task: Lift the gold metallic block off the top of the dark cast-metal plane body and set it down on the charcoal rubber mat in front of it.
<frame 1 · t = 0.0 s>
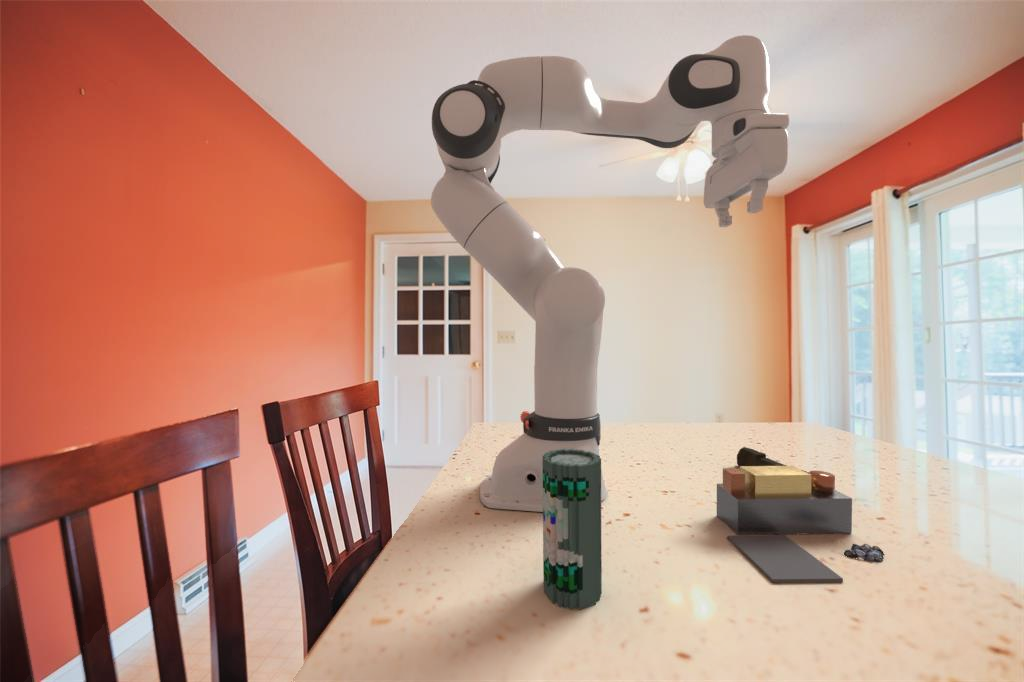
hand: (739, 219, 73), 48 cm above the table, tool pointing down, fingers open, 8 cm apart
can: (572, 592, 46), on the table
plane body: (780, 524, 61), on the table
hand tool: (775, 483, 78), on the table
mat: (779, 558, 52), on the table
gold metallic block: (774, 490, 61), point 5 cm above the table, touching plane body
blueberries: (862, 556, 54), on the table
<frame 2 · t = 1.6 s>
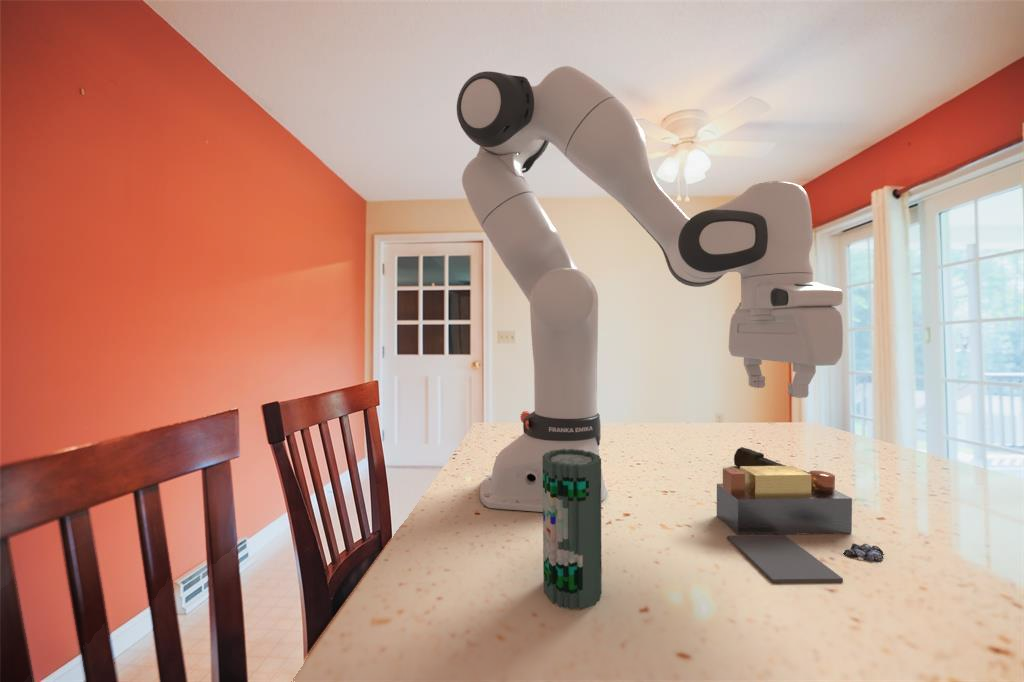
hand: (775, 391, 61), 20 cm above the table, tool pointing down, fingers open, 8 cm apart
nothing on the table moved.
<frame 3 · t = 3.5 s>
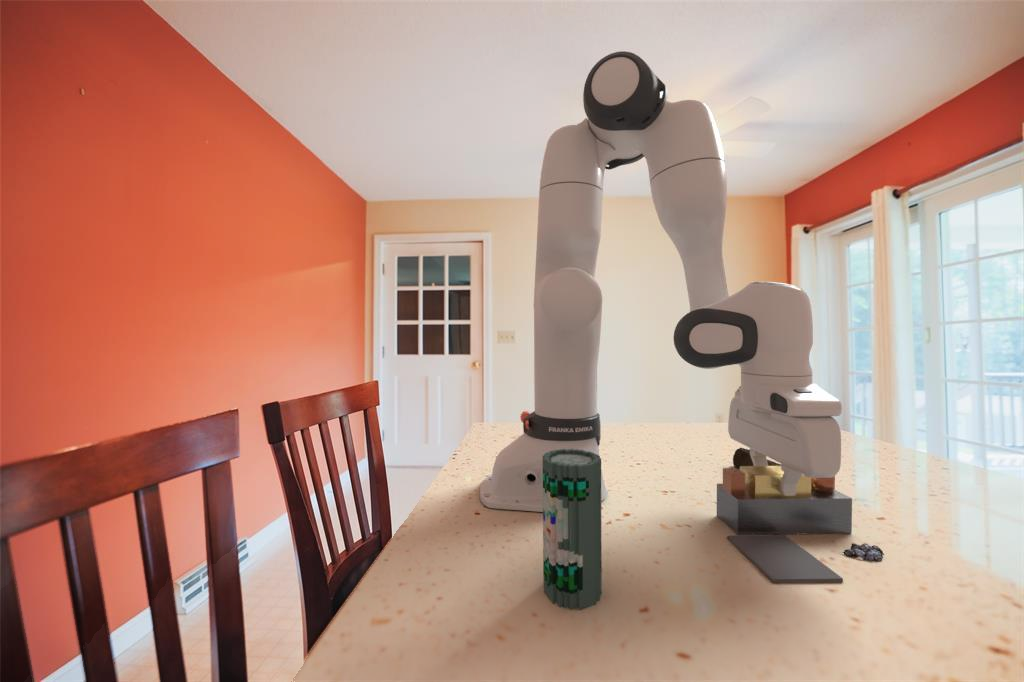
hand: (774, 486, 61), 6 cm above the table, tool pointing down, fingers closed on gold metallic block, 4 cm apart
gold metallic block: (774, 490, 61), point 5 cm above the table, touching gripper, plane body
everything else where it was.
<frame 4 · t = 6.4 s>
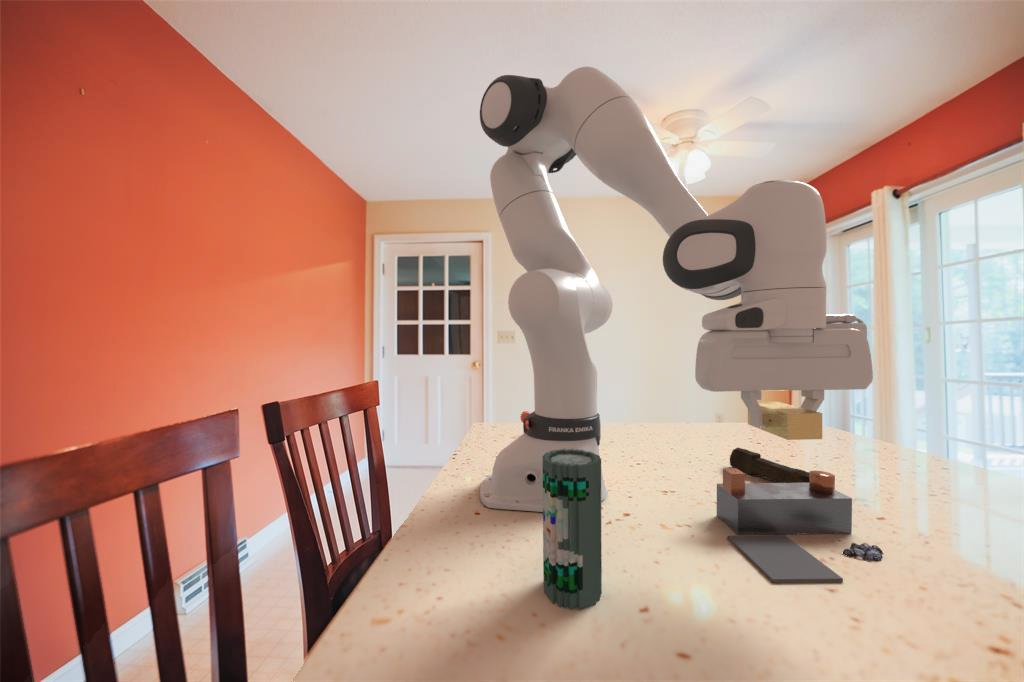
hand: (781, 426, 52), 17 cm above the table, tool pointing down, fingers closed on gold metallic block, 4 cm apart
gold metallic block: (782, 431, 52), point 16 cm above the table, touching gripper
everything else where it was.
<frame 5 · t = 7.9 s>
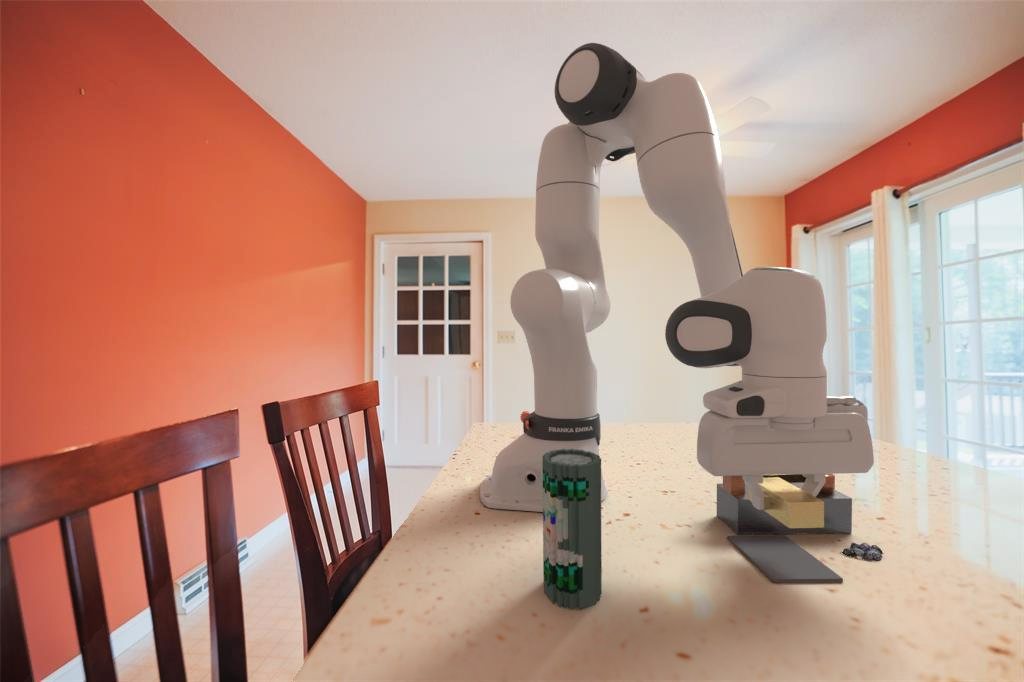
hand: (783, 507, 52), 7 cm above the table, tool pointing down, fingers closed on gold metallic block, 4 cm apart
gold metallic block: (783, 512, 52), point 6 cm above the table, touching gripper
everything else where it was.
when the fingers open (3 cm above the table, at t = 9.1 s): gold metallic block drops 2 cm, resting on mat.
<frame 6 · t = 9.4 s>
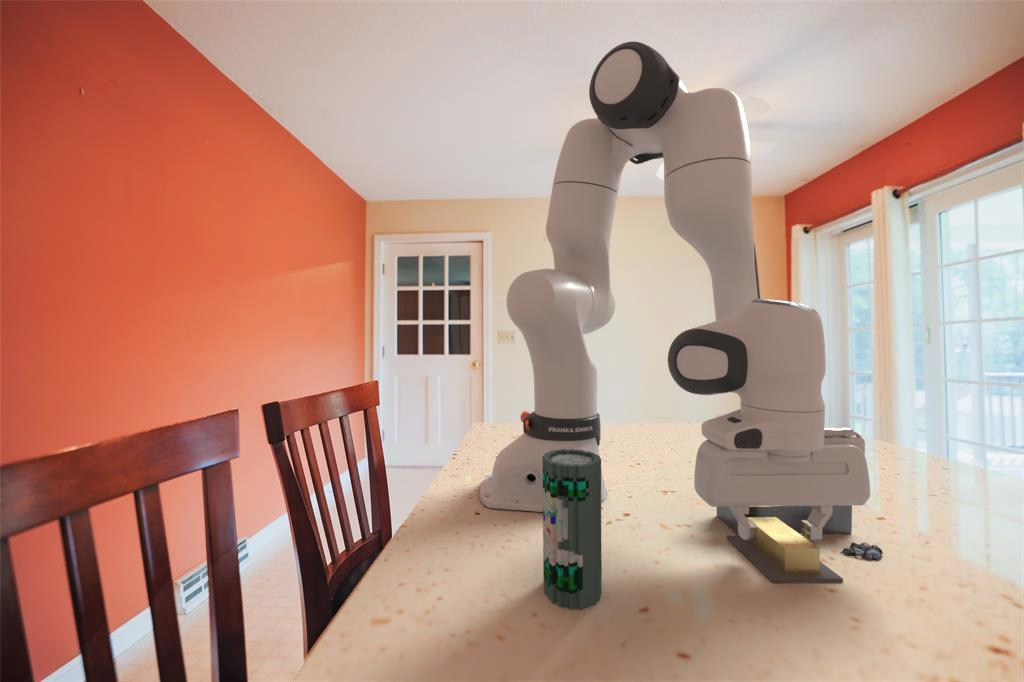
hand: (779, 537, 52), 3 cm above the table, tool pointing down, fingers open, 7 cm apart
gold metallic block: (780, 555, 52), resting on mat
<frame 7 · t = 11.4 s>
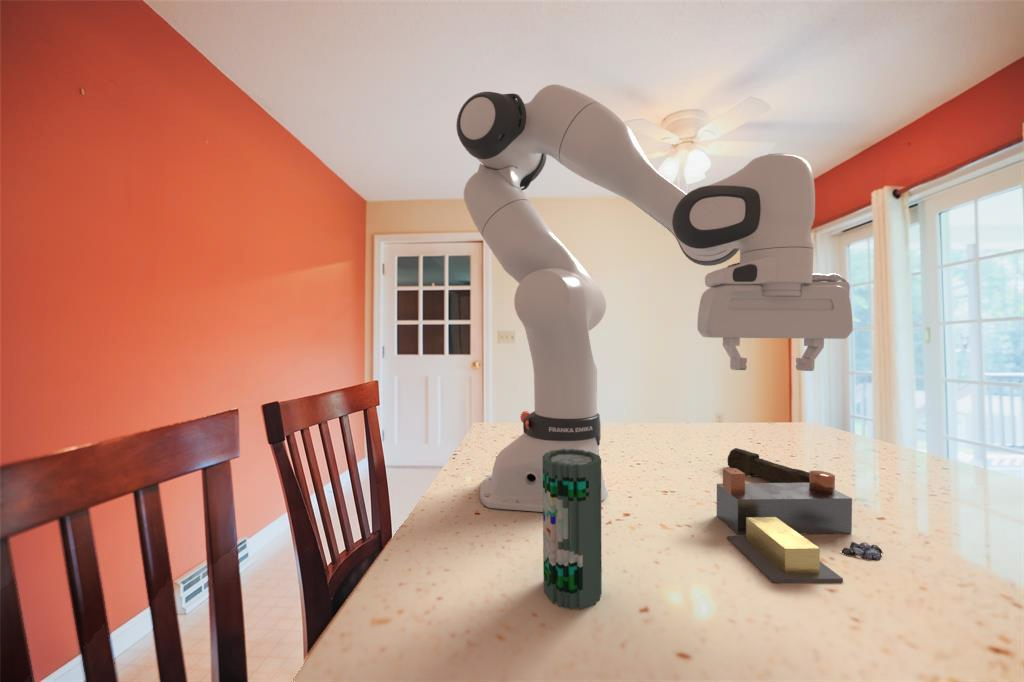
hand: (771, 370, 60), 23 cm above the table, tool pointing down, fingers open, 8 cm apart
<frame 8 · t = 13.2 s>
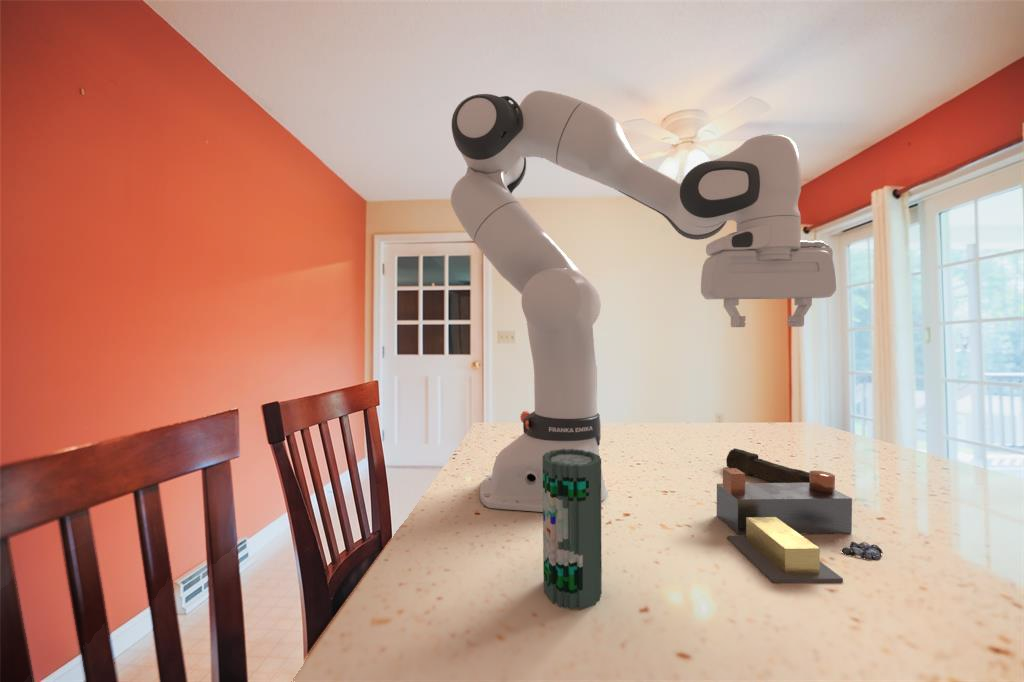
hand: (766, 327, 67), 29 cm above the table, tool pointing down, fingers open, 8 cm apart
at the end: gold metallic block inside the target area on the mat (0.0 cm from its centre), point 0.4 cm above the mat's base; gold metallic block touching mat; the gripper is holding nothing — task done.
